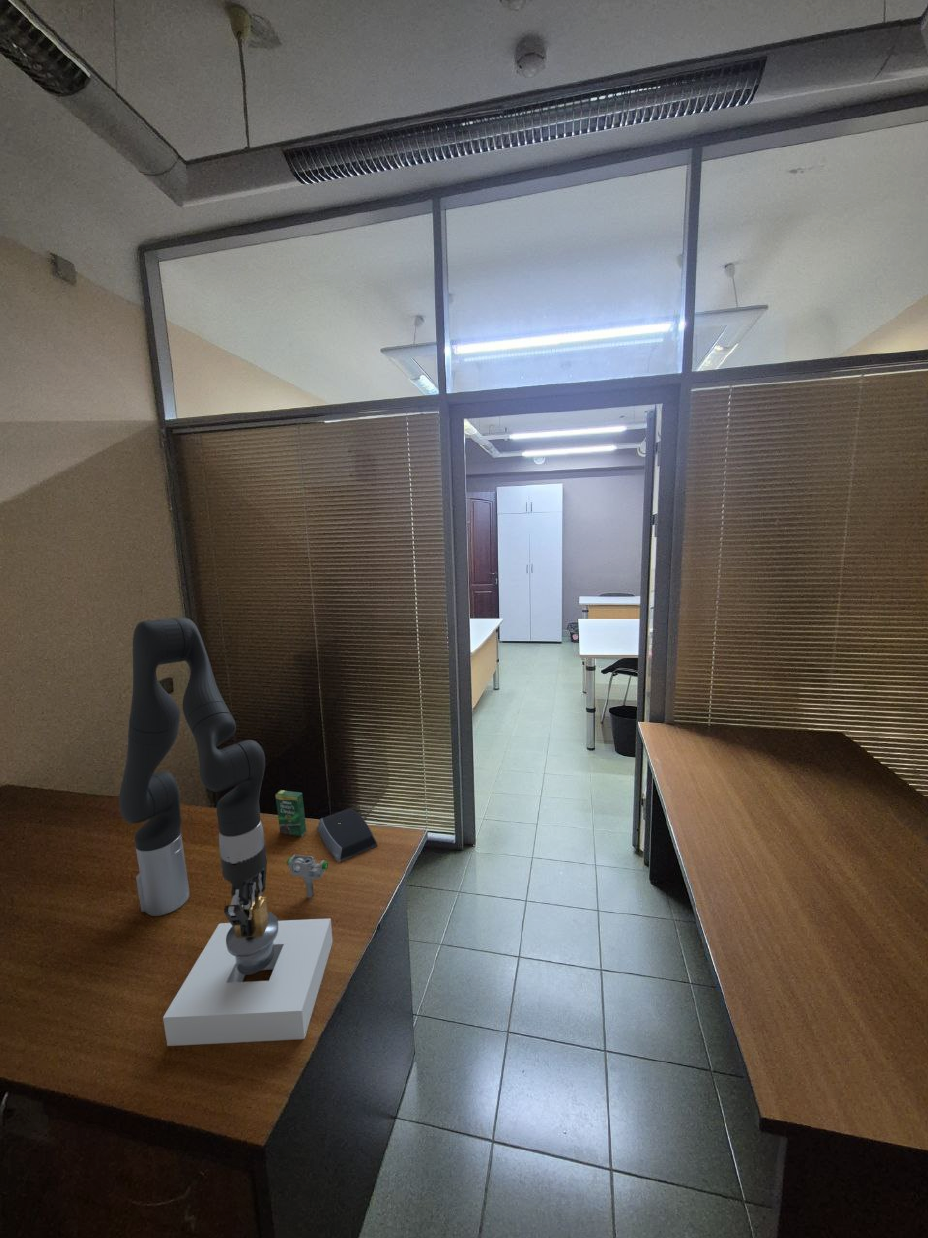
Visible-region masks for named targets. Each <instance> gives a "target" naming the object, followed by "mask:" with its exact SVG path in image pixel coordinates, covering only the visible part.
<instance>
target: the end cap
mask: <svg viewBox="0 0 928 1238" xmlns="http://www.w3.org/2000/svg"><path fill="white" fill-rule="evenodd" d="M267 907H268V906H267V897H266V896H262V897H255V904H254V905H253V907H252V916H253V924H254V934H253V935H252V936H248V937H243V936H242V935H241V929H240V925H236V926H232V927H231V928H230V930H229V931H228V933H227V936H226V946H227V950H228V952H229V953H230V954H231V955H233V956H235V958H236V966H237V970H238V971H239V972H240V973H242V974H246V975H254V974H256V973H259V972H261V971H264V970H263V969H264V968H265V967H266V966H268V965H269V963H270V962H271V961H272V959H273V957H274V943H273V941H274V939H275V938H276V936H277V933H278V929H279V927H278V921H279V920H278V917H277V916H276V915H275V914H274V913H272V912H270V911H268V908H267ZM243 910H244V912H245V913H247V910H246V909H243Z"/></svg>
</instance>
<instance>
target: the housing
mask: <svg viewBox="0 0 928 1238" xmlns="http://www.w3.org/2000/svg"><path fill="white" fill-rule="evenodd" d="M231 927H232V925H231V923H230V922H225V923H224V922H223V923H222V922H221V923H220V922H219V924H218V925H217V927H216V929H215V930H214V931H213V933H212V935H211V937H210V938H209V939H208V942H207V943H206V945H205V947H204V948H203V950H202V952H201V953H200V955H199V956H198V958H197V960H196V961H195V963H194V965H193V966H192V968H191V971H189V973H188V975H187V977H186V978H185V979H184V981H183V983H182V985H181V986H180V988H179V990H178V991H177V994H175V997H174V998H173V1000H172V1001H171V1003H170V1005H169V1007H168V1008H167V1010H166V1012H165V1013H164V1015H163V1017H162V1020H163V1026H164V1032H165V1033H164V1034H165V1038H166V1045H167V1047H176V1046H177V1047H178V1046H194V1045H197V1046H198V1045H213V1044H215V1045H216V1044H235V1043H237V1044H238V1043H253V1042H270V1041H276V1042H277V1041H291V1040H292V1041H293V1040H305V1038H306V1036H307V1032H308V1028H309V1026H310V1021H311V1018H312V1014H313V1011H314V1007H315V1004H316V1001H317V999H318V998H317V997H318V994H319V990H320V987H321V984H322V981H323V977H324V974H325V970H326V966H327V963H328V960H329V956H330V952H331V948H332V945H333V931H332V928H333V927H332V919H331V918H313V919H289V920H278V927H279V929H278V933H277V936H276V938H275V939H274V941H273V943H274V957H273V959H272V961H271V962H270V963H269V965H268V966H266V967H265V968H264V969H263V970H262V971H267V970H268V971H269V970H272V972H271V975H270V977H269V980H257V981H254V980H253V981H244V979H245V977H246V975H247V974H242V973H240V972H239V971H238V970H237V966H236V958H235V956H233V955H231V954H230V953H229V952H228V950H227V946H226V936H227V933H228V931H229V930H230V928H231Z"/></svg>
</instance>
